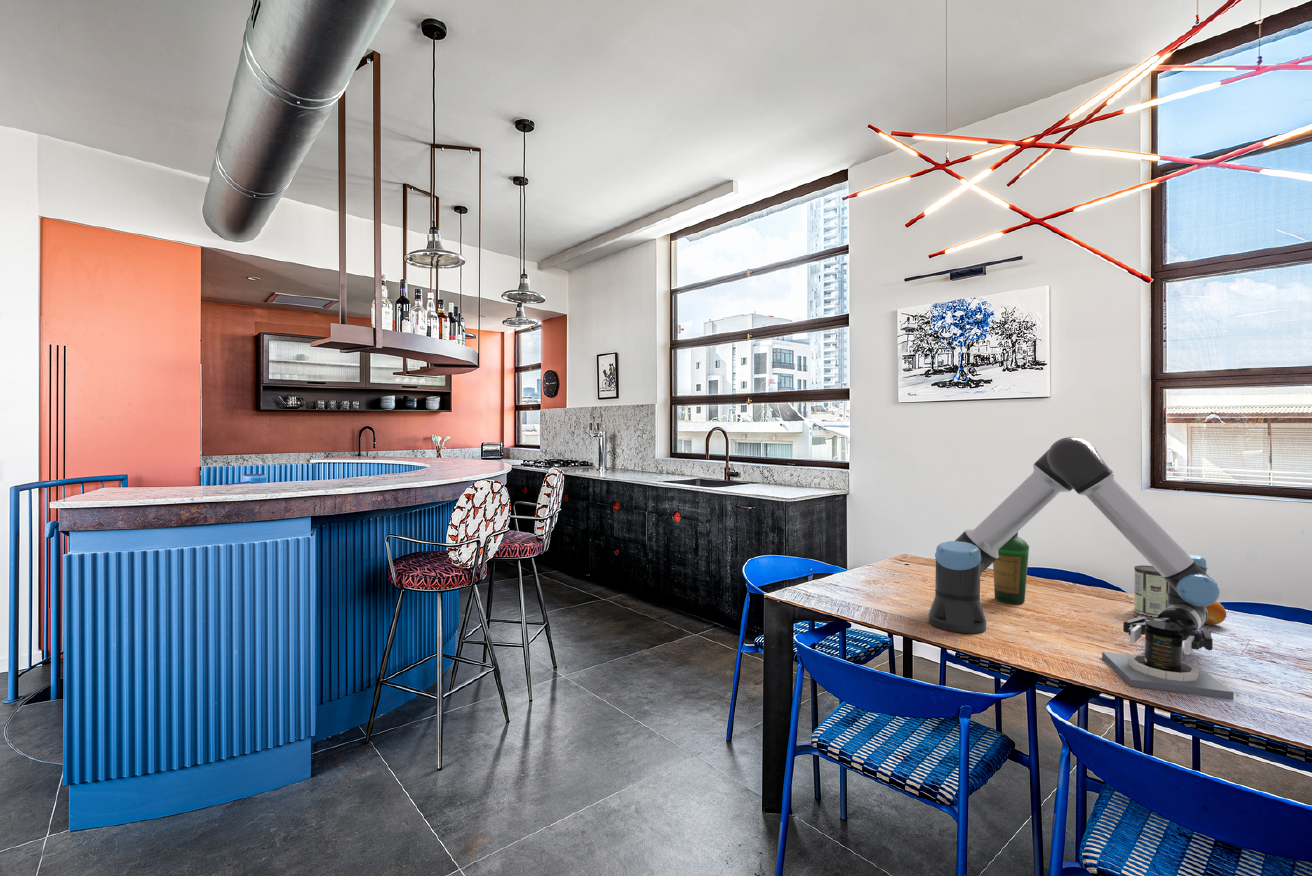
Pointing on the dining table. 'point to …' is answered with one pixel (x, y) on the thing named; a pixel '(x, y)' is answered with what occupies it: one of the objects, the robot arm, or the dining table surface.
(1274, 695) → the dining table surface
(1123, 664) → the ring board
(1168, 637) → the supplement container
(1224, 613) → the fruit
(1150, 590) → the coffee can
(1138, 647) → the dining table surface
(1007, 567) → the bottle
